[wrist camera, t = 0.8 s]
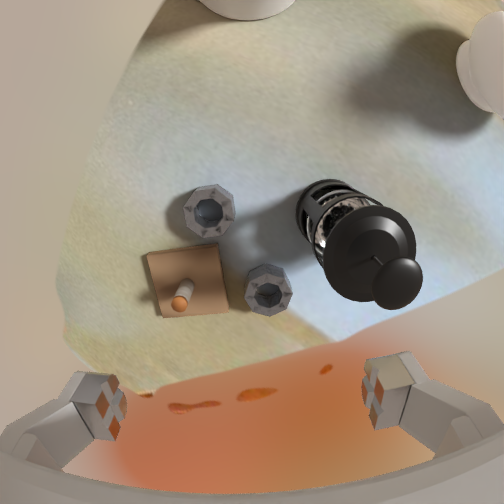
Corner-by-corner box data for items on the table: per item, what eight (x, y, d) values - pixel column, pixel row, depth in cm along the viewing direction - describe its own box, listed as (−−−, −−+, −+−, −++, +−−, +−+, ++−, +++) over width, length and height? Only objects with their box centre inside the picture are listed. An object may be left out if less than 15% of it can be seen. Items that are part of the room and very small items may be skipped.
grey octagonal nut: (186, 188, 42) (180, 193, 38) (231, 182, 41) (229, 185, 38) (193, 232, 43) (189, 239, 40) (237, 226, 43) (236, 233, 40)
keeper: (149, 252, 44) (132, 272, 37) (217, 243, 44) (210, 263, 37) (165, 313, 48) (152, 340, 41) (229, 307, 47) (225, 335, 40)
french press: (278, 223, 43) (303, 309, 21) (314, 163, 40) (380, 188, 19) (348, 263, 45) (415, 362, 23) (383, 207, 42) (482, 270, 20)
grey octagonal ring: (238, 276, 46) (237, 287, 42) (277, 258, 45) (279, 267, 41) (258, 309, 47) (258, 321, 44) (295, 292, 46) (298, 303, 43)
